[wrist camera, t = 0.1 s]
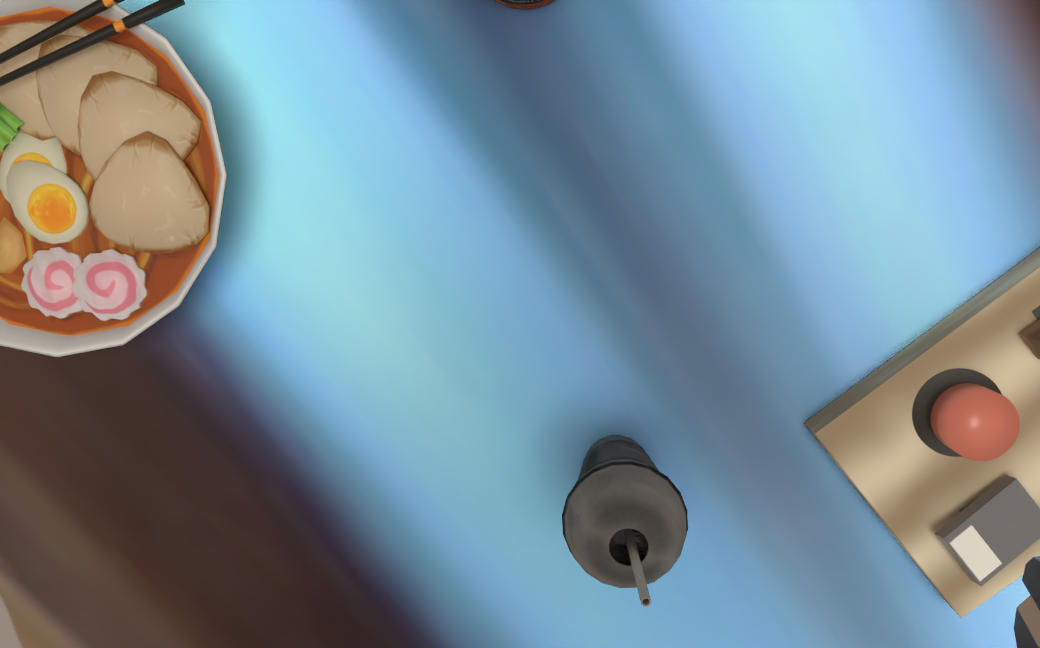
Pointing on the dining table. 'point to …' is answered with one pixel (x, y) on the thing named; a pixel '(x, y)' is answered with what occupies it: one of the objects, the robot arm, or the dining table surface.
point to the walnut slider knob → (1032, 338)
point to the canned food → (525, 3)
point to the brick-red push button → (975, 421)
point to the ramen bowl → (99, 175)
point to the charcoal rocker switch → (992, 530)
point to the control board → (915, 448)
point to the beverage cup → (624, 517)
